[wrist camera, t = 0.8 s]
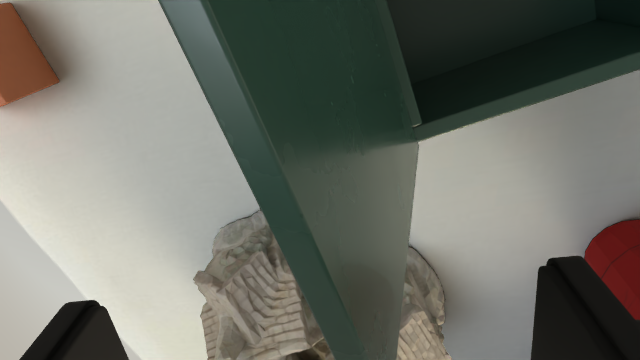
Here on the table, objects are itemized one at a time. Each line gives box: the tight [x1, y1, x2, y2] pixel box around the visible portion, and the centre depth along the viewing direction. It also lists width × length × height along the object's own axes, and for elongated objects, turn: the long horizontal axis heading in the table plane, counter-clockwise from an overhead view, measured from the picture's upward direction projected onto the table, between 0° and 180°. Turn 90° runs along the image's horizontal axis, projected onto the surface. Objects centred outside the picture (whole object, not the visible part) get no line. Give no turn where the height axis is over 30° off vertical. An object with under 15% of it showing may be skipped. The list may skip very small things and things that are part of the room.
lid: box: [158, 0, 419, 360], centre depth 13 cm, size 13×12×1 cm
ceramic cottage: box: [193, 210, 452, 360], centre depth 28 cm, size 16×16×15 cm
